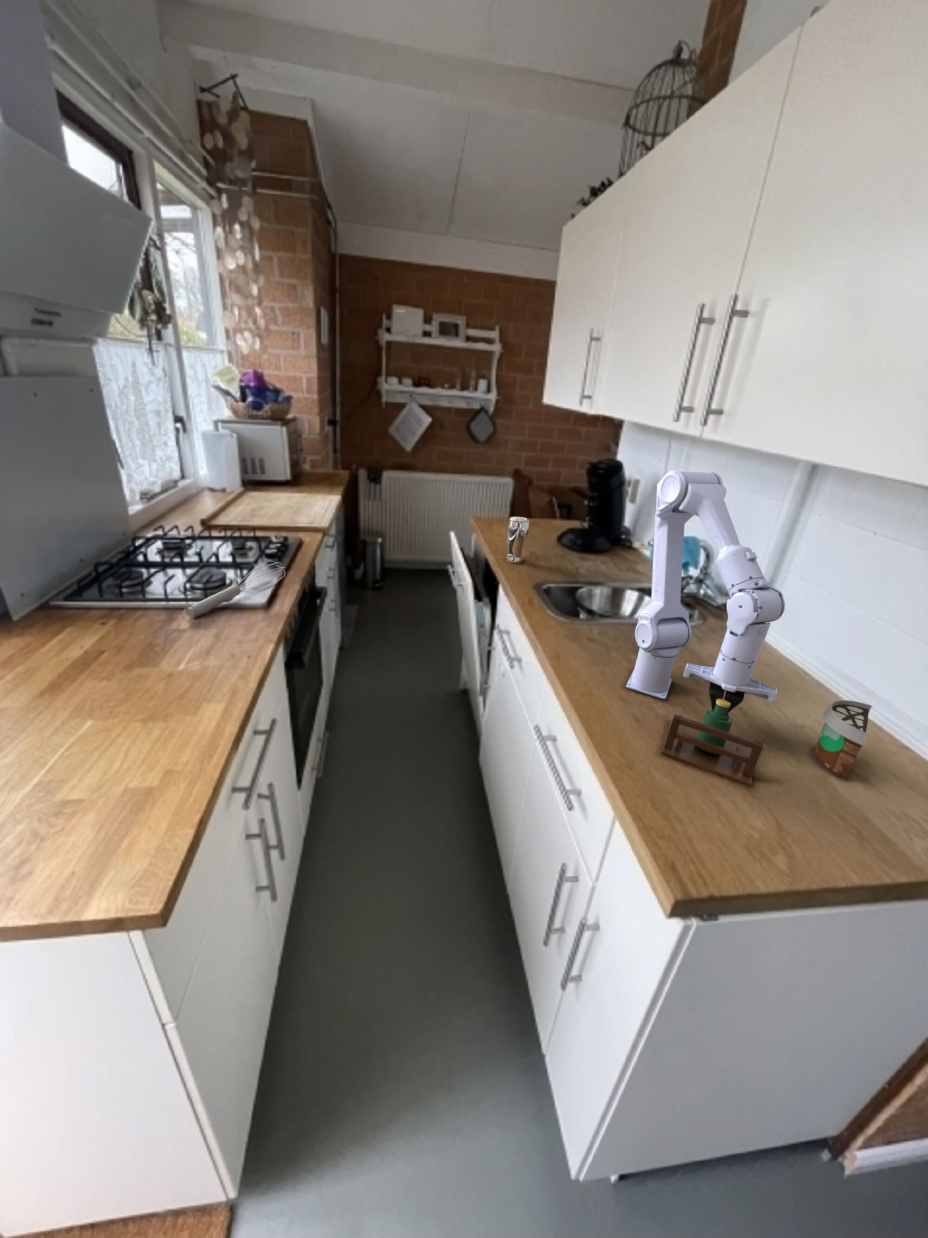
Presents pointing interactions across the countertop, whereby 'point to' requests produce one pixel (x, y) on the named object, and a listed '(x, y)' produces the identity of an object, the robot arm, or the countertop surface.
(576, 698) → the countertop surface
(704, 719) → the bottle
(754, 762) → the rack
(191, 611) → the kitchen whisk
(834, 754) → the food container
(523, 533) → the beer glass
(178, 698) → the countertop surface
